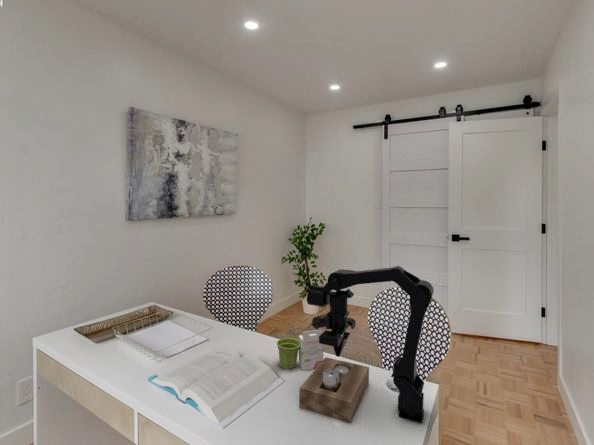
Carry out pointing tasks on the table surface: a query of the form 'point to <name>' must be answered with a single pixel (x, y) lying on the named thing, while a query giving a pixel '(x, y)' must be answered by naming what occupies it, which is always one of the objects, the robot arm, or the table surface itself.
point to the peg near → (330, 380)
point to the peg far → (342, 369)
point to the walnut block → (335, 402)
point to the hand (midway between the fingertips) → (338, 356)
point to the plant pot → (288, 352)
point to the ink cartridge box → (310, 350)
